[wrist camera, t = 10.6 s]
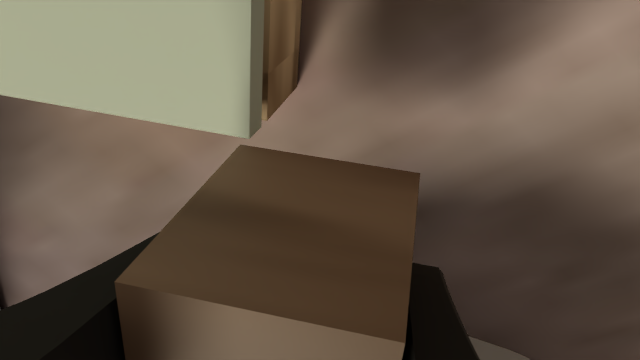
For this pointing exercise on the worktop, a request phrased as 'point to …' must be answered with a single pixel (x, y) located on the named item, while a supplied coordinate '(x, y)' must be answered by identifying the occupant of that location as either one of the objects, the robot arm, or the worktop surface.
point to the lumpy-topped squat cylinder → (494, 351)
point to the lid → (139, 59)
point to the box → (280, 52)
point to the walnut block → (277, 265)
